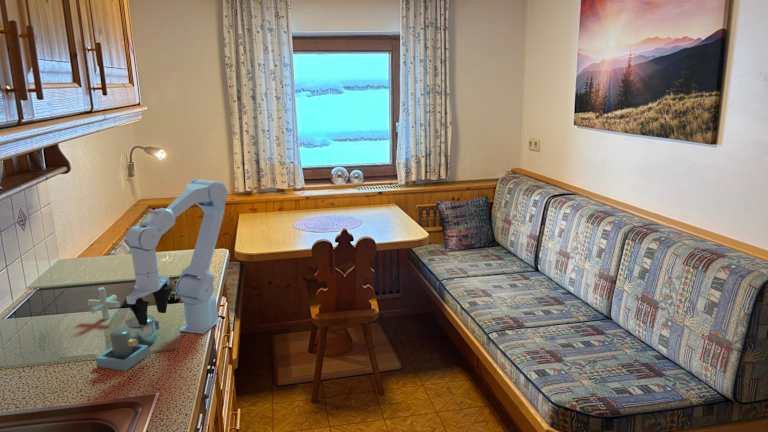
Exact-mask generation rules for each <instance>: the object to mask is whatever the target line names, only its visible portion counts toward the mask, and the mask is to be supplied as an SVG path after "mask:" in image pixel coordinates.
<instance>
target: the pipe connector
mask: <svg viewBox="0 0 768 432" xmlns="http://www.w3.org/2000/svg"><path fill="white" fill-rule="evenodd" d="M97 290H98V297H99V299H92V298H91V299H88V300H87V305H88V306H92V307H90V308H89V311H90V313H92V314H95V313H97V312H98V311H99V310H101V314H102V319H103V320H104V321H106V320H109V319H110V313H109V307H110V308H119V307H120V306H121V302H120V301H117V299H118V296H117V295H116V294H112V295H109V296H108V297H107V294H106V288H105V287H103V286H102V287H101V286H100V287H99V288H97Z"/></svg>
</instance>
